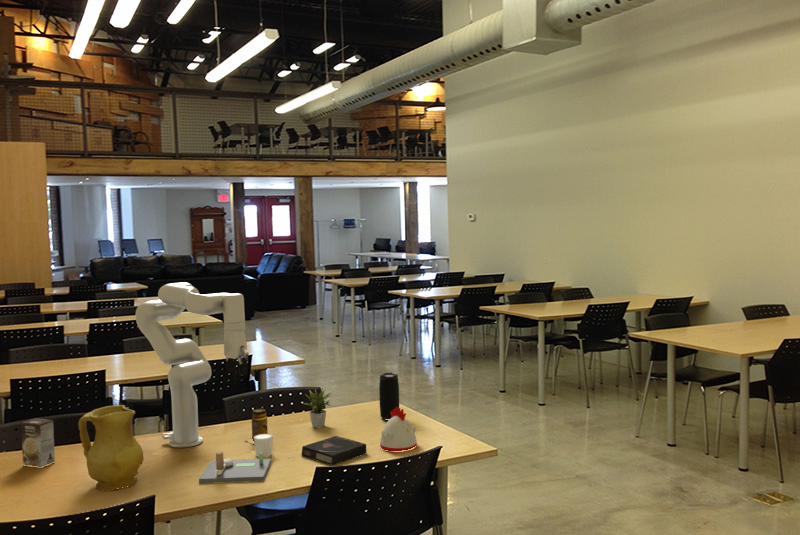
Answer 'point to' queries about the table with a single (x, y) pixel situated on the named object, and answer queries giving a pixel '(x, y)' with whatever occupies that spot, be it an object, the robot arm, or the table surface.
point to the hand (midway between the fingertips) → (237, 372)
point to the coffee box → (37, 442)
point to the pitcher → (111, 447)
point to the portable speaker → (388, 394)
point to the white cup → (263, 444)
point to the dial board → (238, 471)
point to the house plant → (318, 408)
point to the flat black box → (334, 450)
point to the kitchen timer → (398, 433)
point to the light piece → (222, 463)
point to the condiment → (259, 422)
